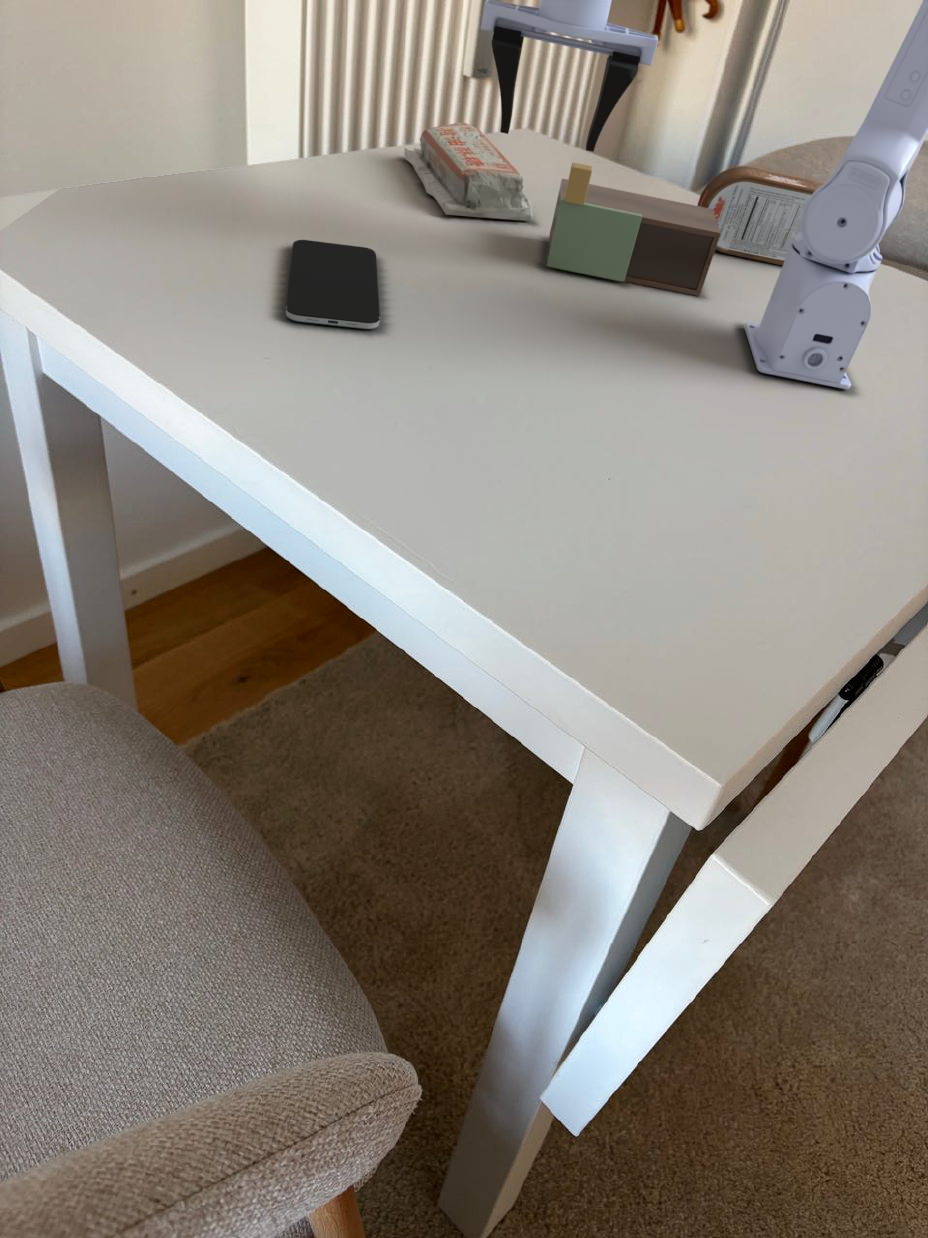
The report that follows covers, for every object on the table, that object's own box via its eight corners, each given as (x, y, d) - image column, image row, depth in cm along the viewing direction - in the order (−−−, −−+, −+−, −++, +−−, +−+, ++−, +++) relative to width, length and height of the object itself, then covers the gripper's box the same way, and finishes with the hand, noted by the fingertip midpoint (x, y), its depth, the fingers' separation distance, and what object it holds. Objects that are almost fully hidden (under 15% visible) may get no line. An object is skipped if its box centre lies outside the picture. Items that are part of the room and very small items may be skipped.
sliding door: (624, 283, 88) (652, 182, 82) (546, 268, 88) (568, 165, 82) (623, 278, 89) (651, 177, 83) (546, 262, 89) (568, 161, 83)
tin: (820, 266, 102) (853, 185, 96) (825, 276, 99) (860, 194, 94) (685, 238, 101) (711, 156, 96) (688, 249, 99) (714, 165, 93)
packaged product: (545, 175, 94) (451, 167, 91) (535, 224, 97) (443, 218, 94) (491, 120, 106) (407, 112, 103) (484, 165, 109) (402, 158, 106)
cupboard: (699, 296, 89) (720, 232, 85) (546, 265, 89) (560, 200, 85) (693, 269, 94) (713, 208, 90) (548, 240, 94) (561, 178, 90)
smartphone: (284, 312, 71) (292, 237, 81) (284, 321, 71) (292, 245, 82) (381, 323, 72) (376, 248, 83) (380, 331, 72) (375, 255, 83)
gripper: (671, -33, 77) (626, 143, 86) (499, -70, 77) (471, 111, 85) (677, -22, 72) (628, 165, 81) (492, -62, 71) (463, 130, 80)
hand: (547, 139), depth 83 cm, fingers open, 7 cm apart
